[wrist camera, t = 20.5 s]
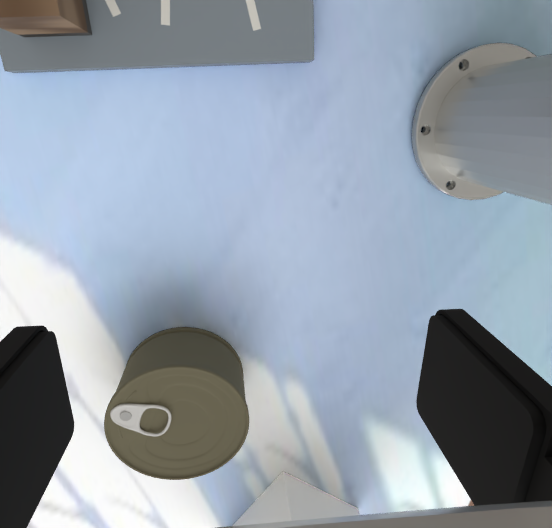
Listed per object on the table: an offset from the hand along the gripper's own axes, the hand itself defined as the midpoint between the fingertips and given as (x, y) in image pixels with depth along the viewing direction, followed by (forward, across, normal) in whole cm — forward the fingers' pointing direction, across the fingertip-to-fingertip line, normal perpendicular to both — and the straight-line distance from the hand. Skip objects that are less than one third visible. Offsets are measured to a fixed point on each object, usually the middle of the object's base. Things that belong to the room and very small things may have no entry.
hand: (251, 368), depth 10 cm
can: (+26, +6, +19) cm, 33 cm away
